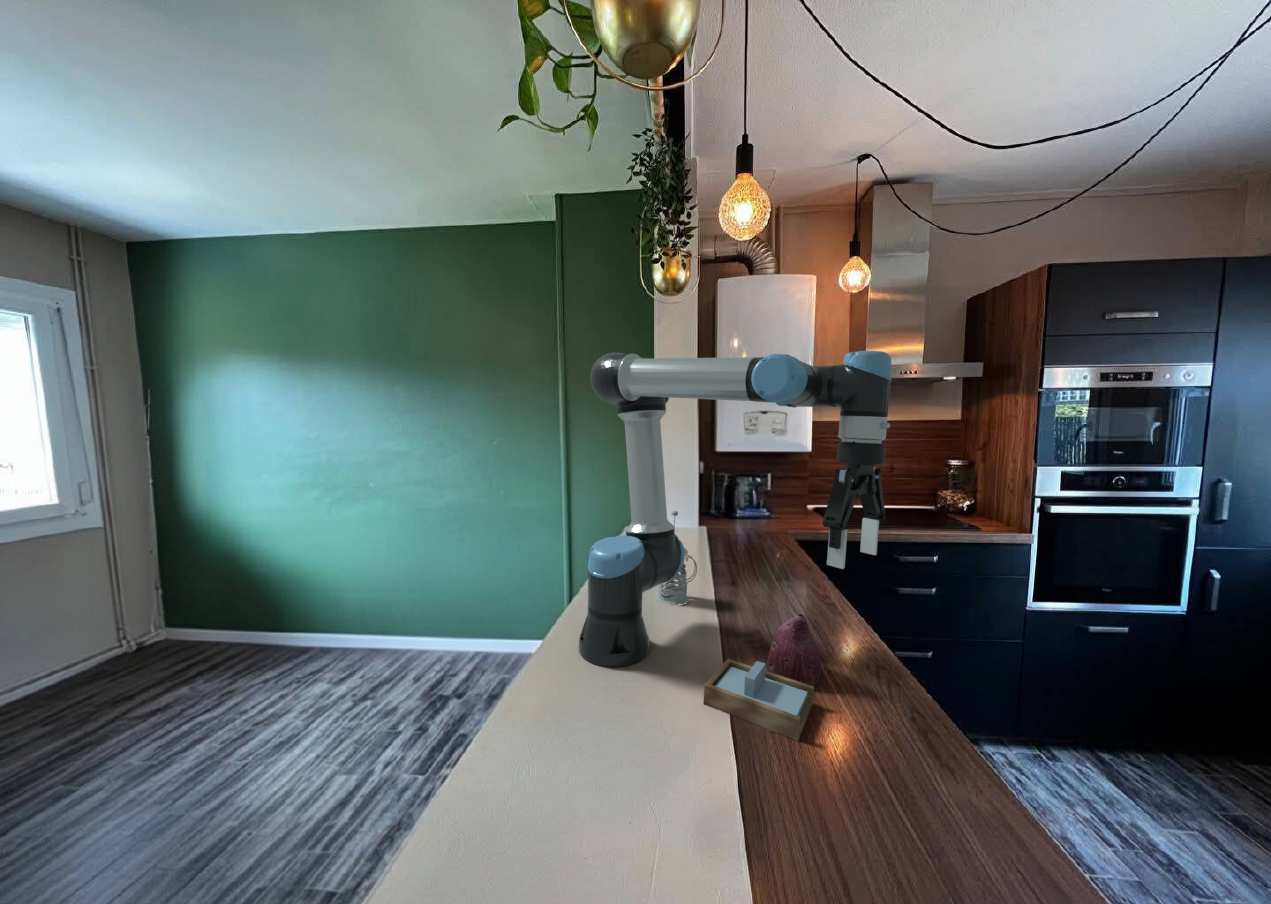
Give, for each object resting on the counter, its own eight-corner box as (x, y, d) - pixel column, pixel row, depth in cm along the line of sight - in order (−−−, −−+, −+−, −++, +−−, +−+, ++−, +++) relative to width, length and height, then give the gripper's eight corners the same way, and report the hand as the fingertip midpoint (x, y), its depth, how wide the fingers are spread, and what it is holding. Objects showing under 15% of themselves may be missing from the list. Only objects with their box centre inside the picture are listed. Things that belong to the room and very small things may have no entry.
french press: (651, 592, 130) (654, 507, 129) (691, 592, 131) (694, 507, 130) (657, 606, 120) (660, 514, 119) (699, 605, 122) (702, 514, 120)
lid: (713, 691, 79) (714, 669, 78) (730, 670, 86) (731, 650, 86) (795, 722, 71) (796, 698, 71) (807, 696, 78) (808, 674, 78)
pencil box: (703, 704, 78) (704, 685, 78) (727, 675, 88) (727, 658, 87) (798, 741, 70) (799, 720, 70) (813, 705, 79) (814, 686, 79)
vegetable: (822, 705, 84) (842, 641, 79) (765, 690, 86) (782, 627, 81) (814, 664, 94) (832, 605, 89) (763, 652, 96) (778, 593, 91)
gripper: (852, 442, 68) (843, 579, 69) (909, 442, 84) (900, 553, 86) (806, 439, 73) (797, 566, 75) (868, 440, 90) (860, 544, 91)
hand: (852, 559), depth 80 cm, fingers open, 13 cm apart
